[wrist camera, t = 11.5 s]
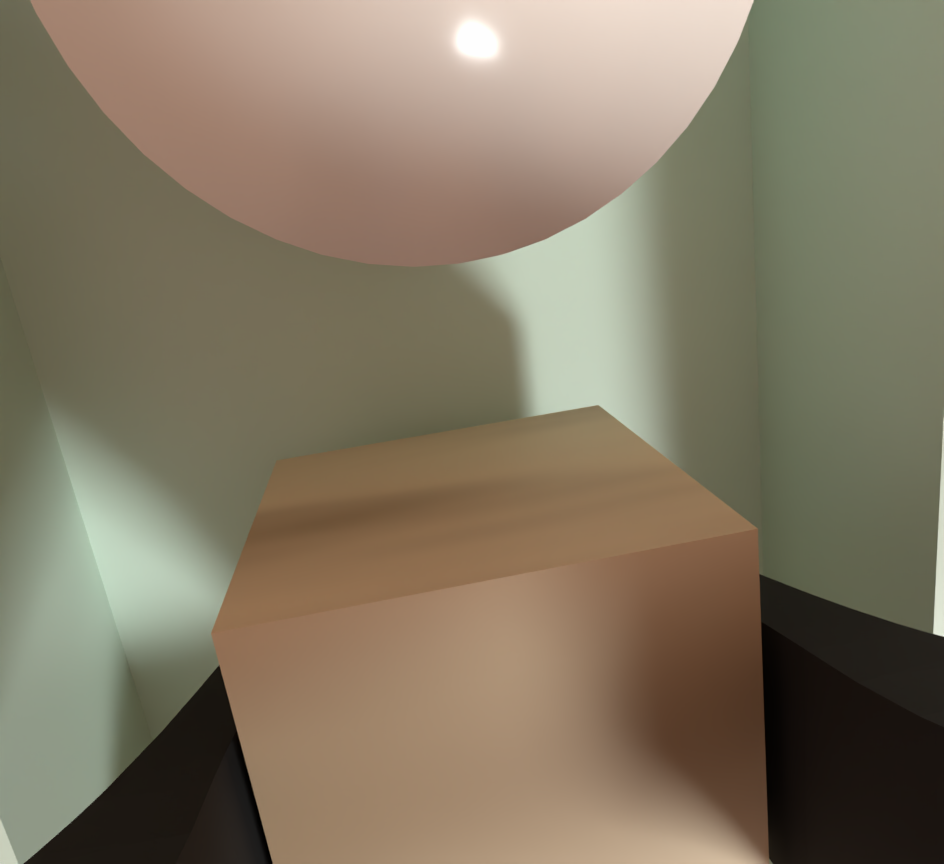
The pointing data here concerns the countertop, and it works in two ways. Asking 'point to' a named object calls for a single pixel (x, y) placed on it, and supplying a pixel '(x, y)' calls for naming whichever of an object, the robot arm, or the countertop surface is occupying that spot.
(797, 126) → the tote
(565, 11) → the pale pink egg
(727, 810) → the maple cube
